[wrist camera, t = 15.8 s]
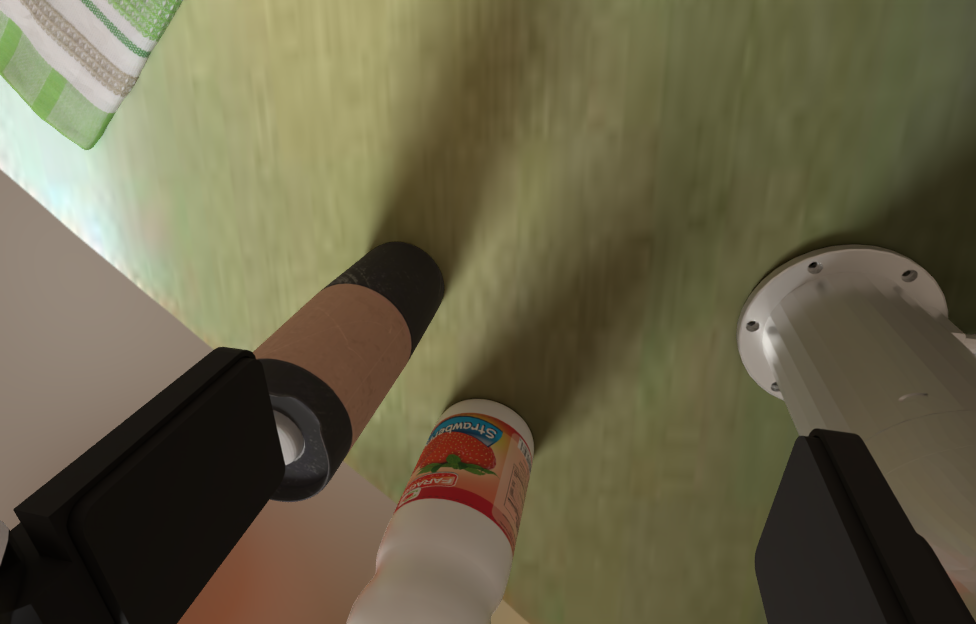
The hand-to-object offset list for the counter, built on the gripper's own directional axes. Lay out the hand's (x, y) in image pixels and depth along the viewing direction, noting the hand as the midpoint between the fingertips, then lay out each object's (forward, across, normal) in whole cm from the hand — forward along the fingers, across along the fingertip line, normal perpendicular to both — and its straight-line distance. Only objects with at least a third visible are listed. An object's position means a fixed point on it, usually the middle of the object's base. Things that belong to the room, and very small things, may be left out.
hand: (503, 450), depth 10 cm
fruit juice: (+31, +7, +27) cm, 41 cm away
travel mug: (+31, +14, +12) cm, 36 cm away
